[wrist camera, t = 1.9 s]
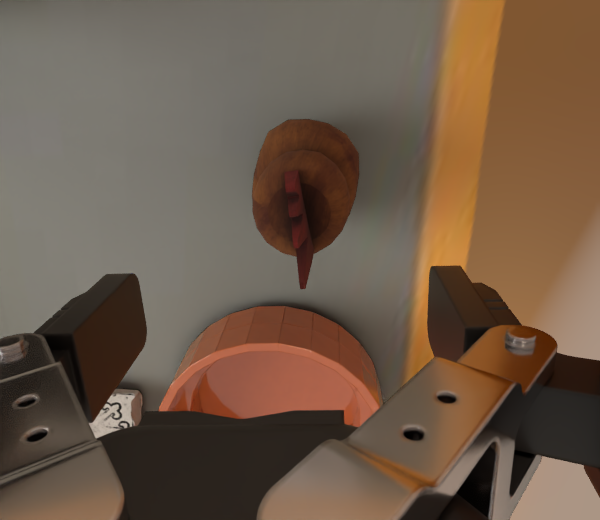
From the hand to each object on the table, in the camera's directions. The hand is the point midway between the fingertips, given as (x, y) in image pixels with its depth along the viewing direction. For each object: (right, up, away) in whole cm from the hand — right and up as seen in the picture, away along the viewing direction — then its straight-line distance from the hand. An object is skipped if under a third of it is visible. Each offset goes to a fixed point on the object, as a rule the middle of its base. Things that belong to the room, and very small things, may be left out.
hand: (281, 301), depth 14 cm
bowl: (-1, -9, +25) cm, 27 cm away
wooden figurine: (+1, +7, +19) cm, 21 cm away
